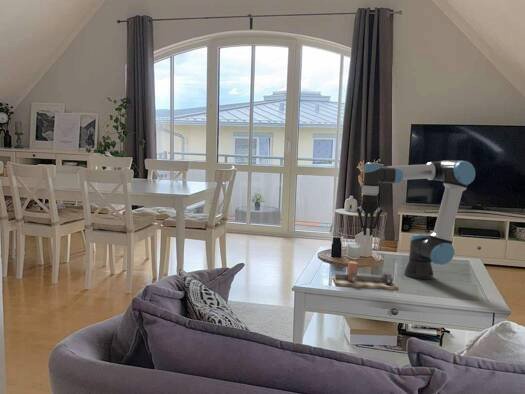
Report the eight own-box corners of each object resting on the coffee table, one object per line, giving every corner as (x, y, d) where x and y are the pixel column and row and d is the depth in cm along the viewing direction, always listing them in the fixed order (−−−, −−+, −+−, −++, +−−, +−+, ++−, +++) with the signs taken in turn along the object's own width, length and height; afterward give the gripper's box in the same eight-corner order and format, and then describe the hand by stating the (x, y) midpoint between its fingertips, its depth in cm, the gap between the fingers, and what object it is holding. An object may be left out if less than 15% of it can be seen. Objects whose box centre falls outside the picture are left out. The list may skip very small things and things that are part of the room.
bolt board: (391, 283, 244) (392, 280, 244) (398, 289, 232) (398, 287, 232) (332, 278, 244) (332, 276, 244) (335, 285, 232) (335, 282, 232)
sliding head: (354, 278, 243) (356, 261, 242) (357, 282, 235) (359, 265, 234) (346, 277, 243) (348, 261, 242) (349, 281, 235) (350, 264, 234)
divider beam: (390, 284, 242) (391, 273, 242) (394, 288, 235) (395, 276, 234) (334, 279, 242) (335, 269, 242) (336, 283, 235) (337, 272, 235)
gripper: (381, 194, 240) (378, 241, 243) (355, 193, 240) (352, 239, 243) (385, 195, 233) (381, 244, 235) (358, 194, 233) (354, 242, 235)
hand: (366, 242), depth 239 cm, fingers closed
